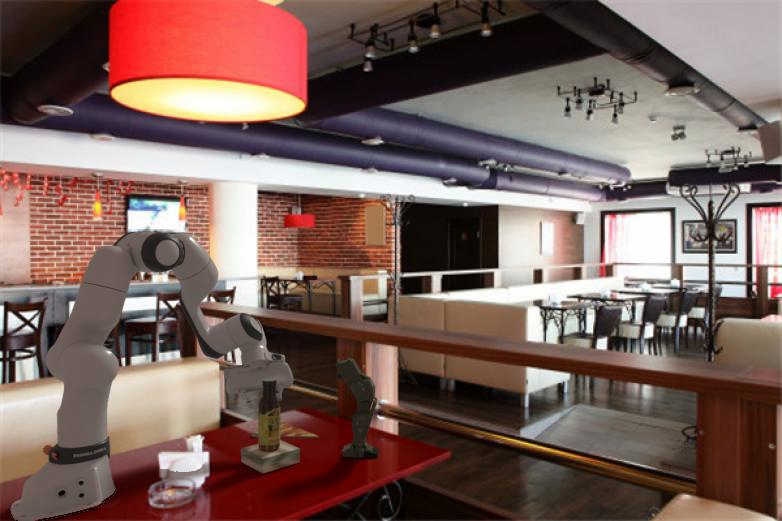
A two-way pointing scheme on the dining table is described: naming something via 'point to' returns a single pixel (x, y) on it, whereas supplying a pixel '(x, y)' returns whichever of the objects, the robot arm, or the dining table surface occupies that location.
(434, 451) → the dining table surface
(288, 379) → the robot arm
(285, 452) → the grey flat block
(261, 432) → the sauce bottle
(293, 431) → the pizza slice
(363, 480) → the dining table surface
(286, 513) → the dining table surface
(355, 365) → the mechanical leg
